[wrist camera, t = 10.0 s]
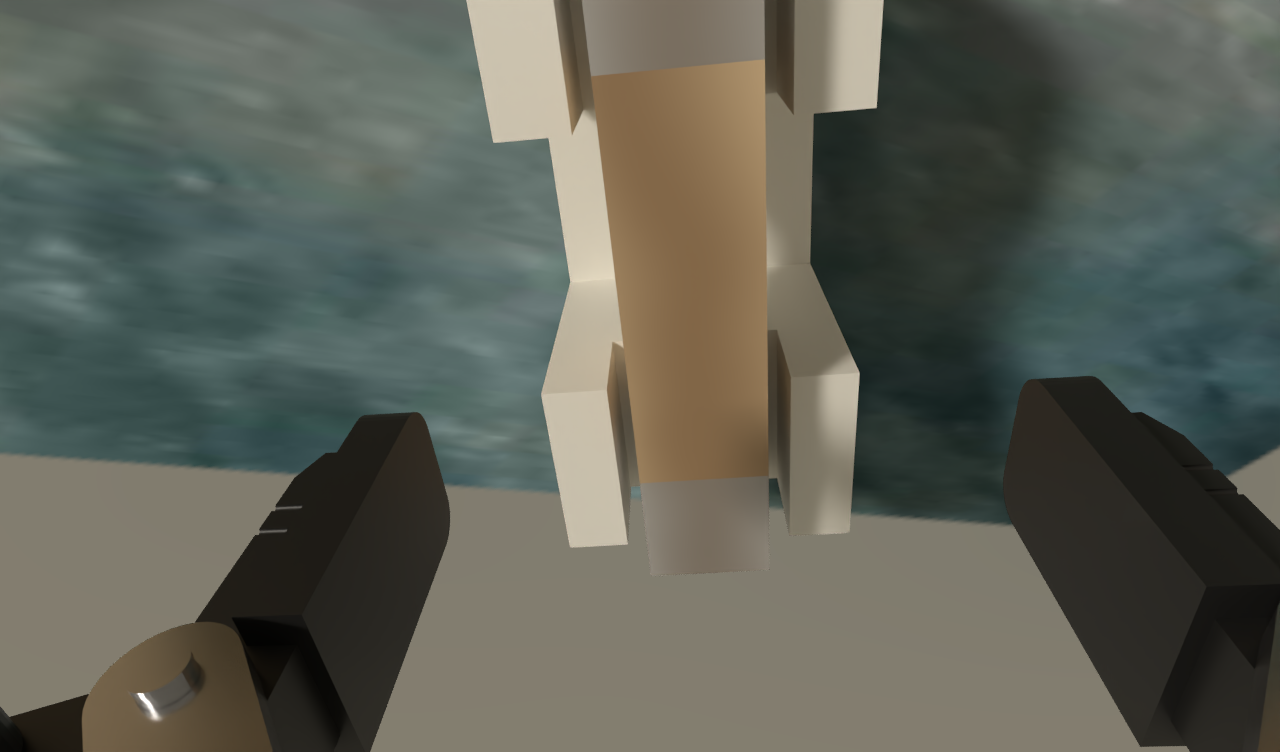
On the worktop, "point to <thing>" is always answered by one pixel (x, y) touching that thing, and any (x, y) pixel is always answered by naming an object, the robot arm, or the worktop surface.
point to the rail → (690, 266)
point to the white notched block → (590, 324)
